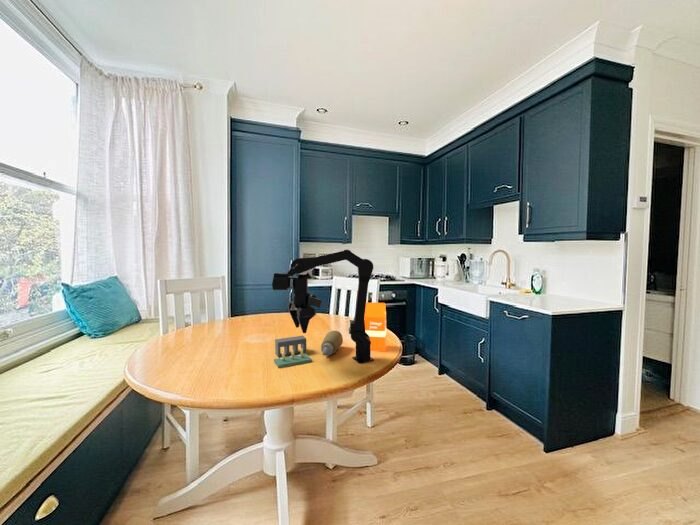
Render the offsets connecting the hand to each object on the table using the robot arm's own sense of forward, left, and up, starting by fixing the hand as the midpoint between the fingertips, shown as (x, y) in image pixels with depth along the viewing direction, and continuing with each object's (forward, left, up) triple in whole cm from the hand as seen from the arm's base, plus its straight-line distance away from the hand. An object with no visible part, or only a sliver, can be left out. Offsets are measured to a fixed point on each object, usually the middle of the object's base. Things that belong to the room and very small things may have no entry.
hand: (300, 330), depth 116 cm
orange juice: (0, -34, -12) cm, 36 cm away
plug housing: (+11, +1, -12) cm, 16 cm away
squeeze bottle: (+10, -19, -8) cm, 23 cm away
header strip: (+1, +3, -12) cm, 13 cm away
